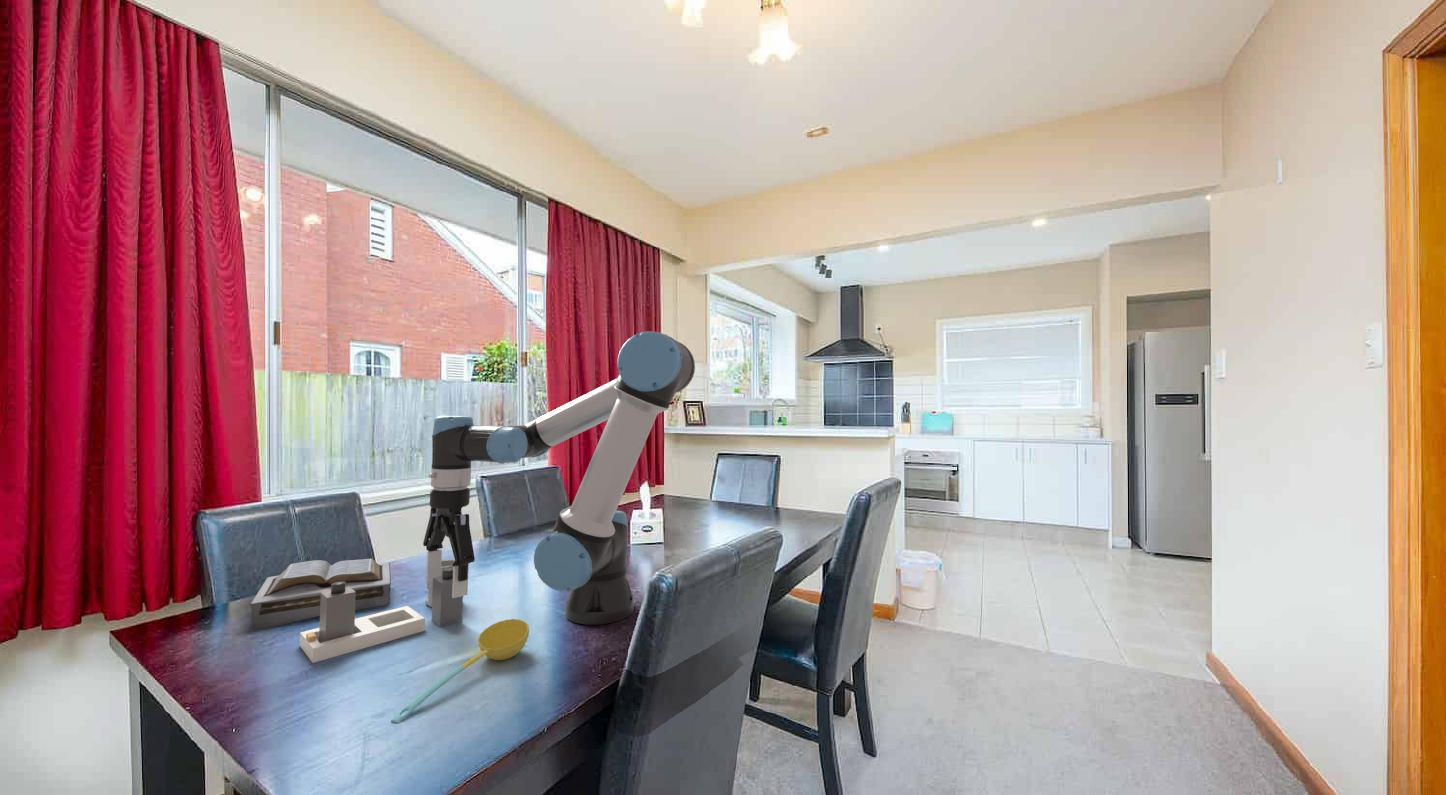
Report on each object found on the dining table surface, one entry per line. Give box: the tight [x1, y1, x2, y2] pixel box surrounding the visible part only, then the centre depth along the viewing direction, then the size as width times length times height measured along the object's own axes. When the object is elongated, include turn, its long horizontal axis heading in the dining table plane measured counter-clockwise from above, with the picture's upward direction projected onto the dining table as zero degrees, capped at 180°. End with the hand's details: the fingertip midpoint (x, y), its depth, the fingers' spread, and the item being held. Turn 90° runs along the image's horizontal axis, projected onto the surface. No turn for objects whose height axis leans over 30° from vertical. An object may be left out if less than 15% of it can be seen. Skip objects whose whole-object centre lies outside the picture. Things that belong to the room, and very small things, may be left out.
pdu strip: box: [299, 605, 426, 664], centre depth 100 cm, size 10×18×4 cm, turn 140°
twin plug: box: [318, 582, 356, 643], centre depth 96 cm, size 4×4×12 cm
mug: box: [425, 559, 455, 608], centre depth 120 cm, size 8×12×12 cm, turn 54°
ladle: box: [390, 618, 530, 724], centre depth 87 cm, size 9×26×6 cm, turn 161°
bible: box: [249, 558, 392, 633], centre depth 118 cm, size 23×27×10 cm
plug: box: [431, 569, 464, 628], centre depth 108 cm, size 4×4×12 cm
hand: (446, 588), depth 109 cm, fingers open, 13 cm apart
